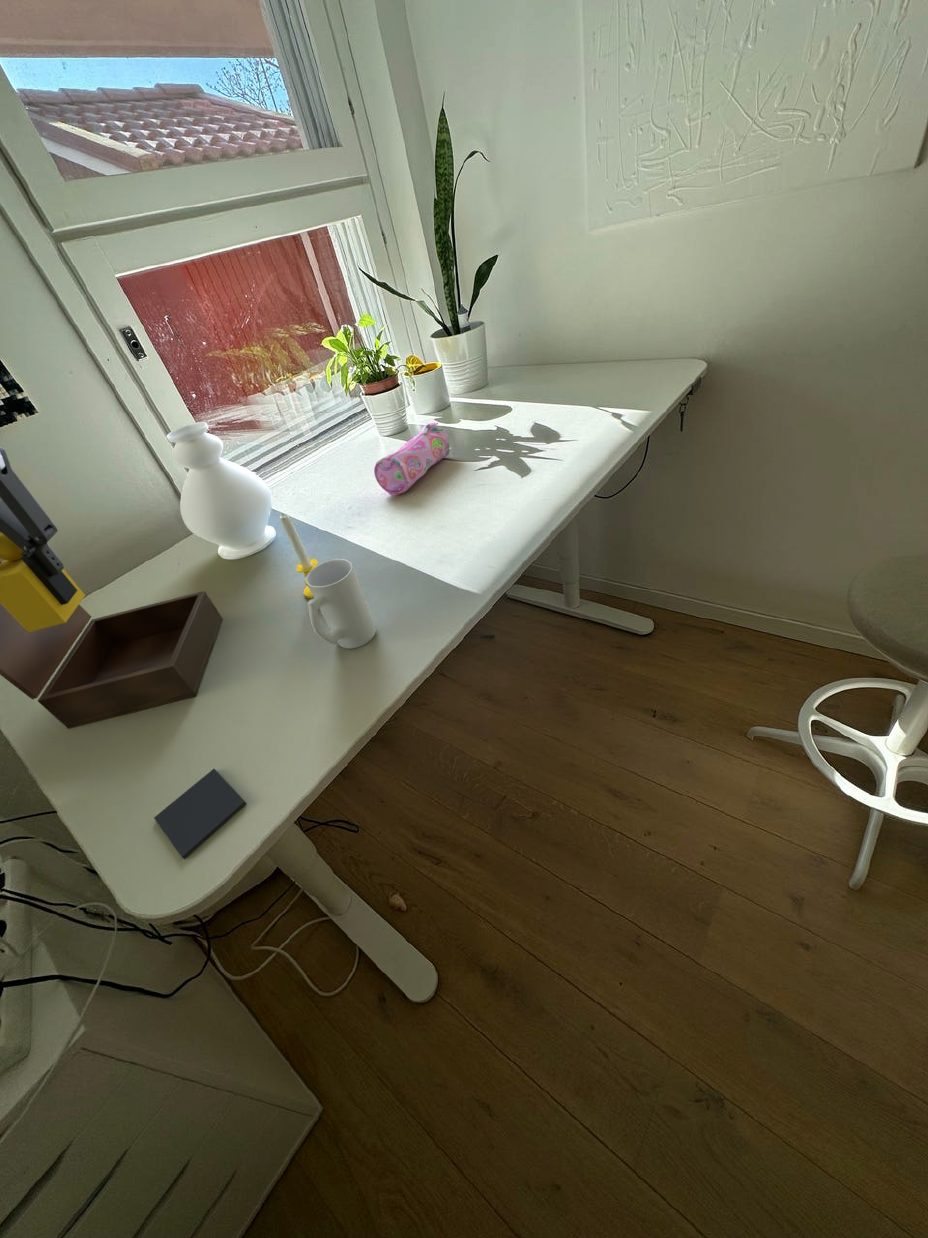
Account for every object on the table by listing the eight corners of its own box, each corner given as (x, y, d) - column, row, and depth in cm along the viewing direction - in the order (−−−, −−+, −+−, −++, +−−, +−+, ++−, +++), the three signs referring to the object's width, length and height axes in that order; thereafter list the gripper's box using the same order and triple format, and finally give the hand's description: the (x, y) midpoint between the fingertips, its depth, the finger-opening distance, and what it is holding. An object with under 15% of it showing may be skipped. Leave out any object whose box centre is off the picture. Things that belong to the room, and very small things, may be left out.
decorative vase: (282, 513, 121) (231, 404, 105) (293, 545, 108) (236, 426, 92) (206, 540, 118) (142, 433, 102) (207, 577, 104) (133, 459, 89)
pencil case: (426, 455, 131) (417, 419, 125) (457, 455, 126) (449, 419, 120) (377, 496, 117) (365, 458, 112) (410, 499, 113) (398, 460, 107)
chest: (223, 618, 92) (204, 590, 88) (196, 696, 77) (172, 666, 73) (114, 646, 92) (91, 619, 88) (67, 729, 77) (37, 701, 73)
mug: (351, 618, 84) (324, 556, 76) (385, 623, 81) (361, 560, 74) (314, 661, 78) (281, 599, 70) (350, 669, 75) (319, 605, 67)
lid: (-16, 511, 74) (-20, 513, 74) (-108, 584, 60) (-114, 587, 60) (91, 616, 87) (87, 618, 87) (37, 698, 73) (32, 699, 73)
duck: (28, 632, 60) (-43, 558, 53) (56, 598, 65) (-6, 527, 59) (65, 623, 60) (-2, 548, 53) (90, 589, 65) (32, 517, 59)
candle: (321, 578, 95) (286, 502, 86) (338, 585, 92) (304, 507, 83) (298, 594, 93) (260, 518, 83) (315, 602, 90) (277, 524, 80)
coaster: (184, 859, 56) (181, 857, 56) (156, 819, 61) (153, 817, 61) (246, 803, 60) (244, 801, 60) (215, 770, 65) (213, 768, 65)
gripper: (-15, 365, 49) (131, 567, 64) (-194, 411, 49) (-7, 603, 64) (-65, 384, 43) (108, 602, 58) (-269, 437, 43) (-44, 642, 58)
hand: (48, 602), depth 61 cm, fingers closed on duck, 4 cm apart
